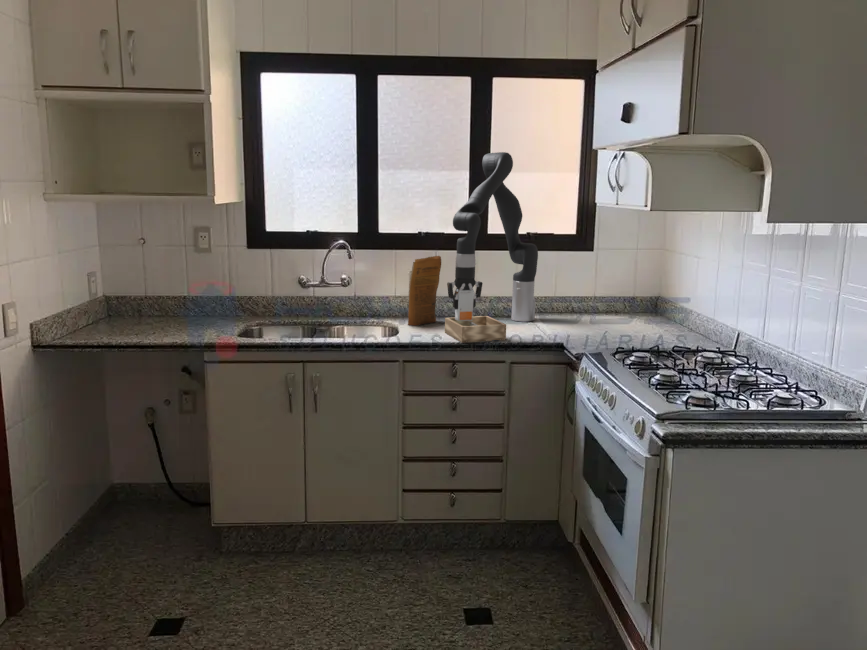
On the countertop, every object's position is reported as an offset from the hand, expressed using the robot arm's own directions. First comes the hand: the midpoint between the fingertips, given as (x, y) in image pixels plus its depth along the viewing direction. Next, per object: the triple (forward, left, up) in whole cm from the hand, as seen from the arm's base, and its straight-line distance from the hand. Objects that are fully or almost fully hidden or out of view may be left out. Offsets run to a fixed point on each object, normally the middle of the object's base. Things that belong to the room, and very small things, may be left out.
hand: (464, 308), depth 279 cm
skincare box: (0, 0, -5) cm, 5 cm away
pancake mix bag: (+7, -26, -11) cm, 29 cm away
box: (-4, +3, -11) cm, 11 cm away
